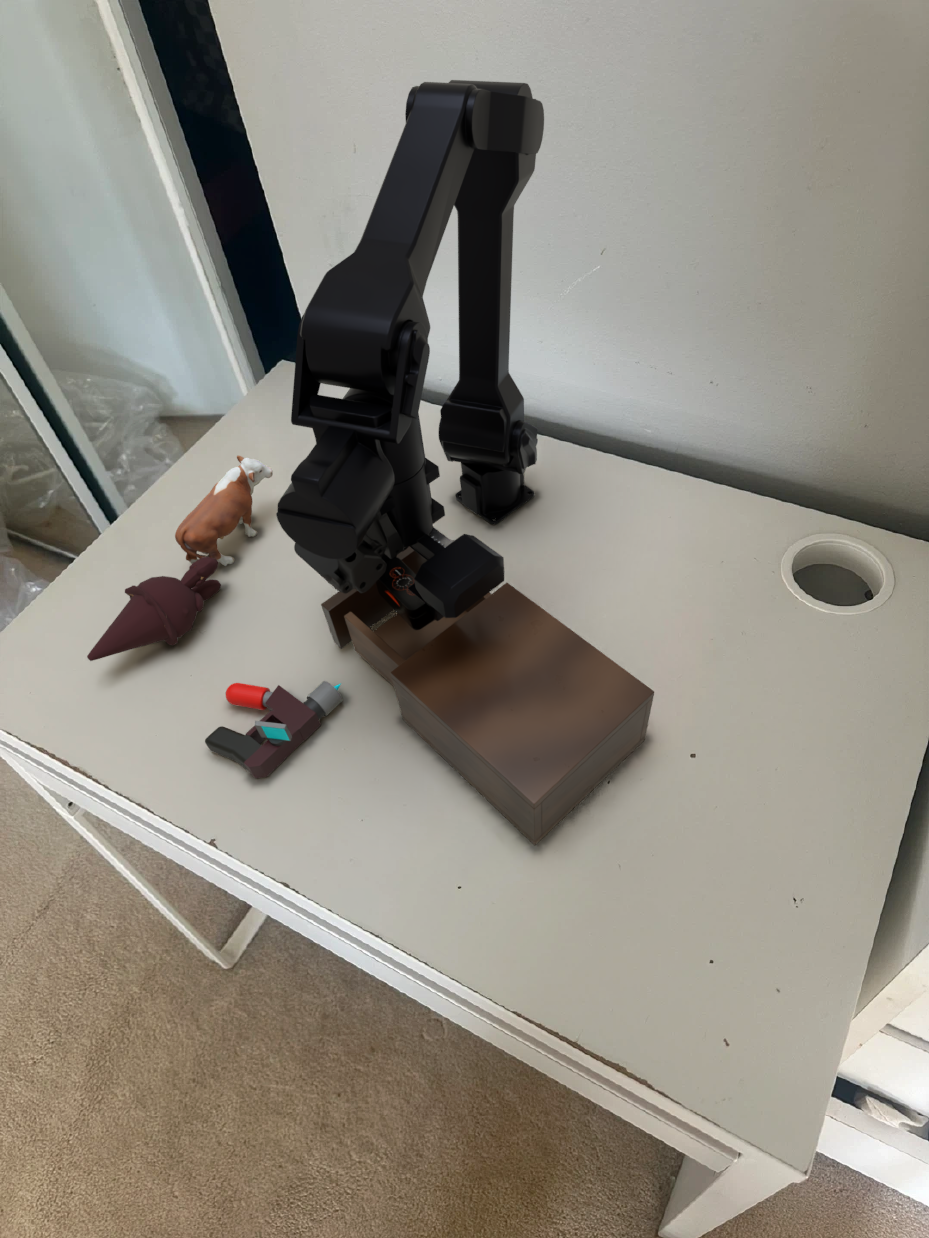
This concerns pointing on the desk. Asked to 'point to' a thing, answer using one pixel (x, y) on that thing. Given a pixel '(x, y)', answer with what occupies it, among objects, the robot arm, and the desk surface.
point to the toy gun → (272, 725)
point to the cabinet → (523, 708)
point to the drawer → (392, 638)
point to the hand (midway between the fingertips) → (413, 595)
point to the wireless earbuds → (403, 594)
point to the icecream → (159, 610)
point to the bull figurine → (222, 512)
